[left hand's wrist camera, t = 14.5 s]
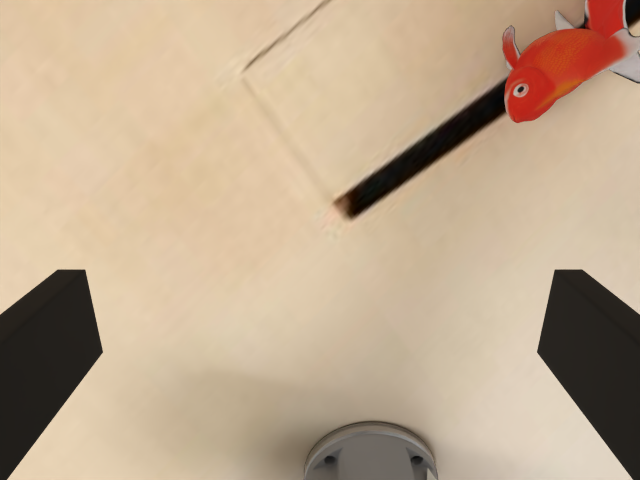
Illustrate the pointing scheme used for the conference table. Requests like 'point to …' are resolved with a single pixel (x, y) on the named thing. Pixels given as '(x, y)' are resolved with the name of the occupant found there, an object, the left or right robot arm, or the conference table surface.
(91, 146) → the conference table surface
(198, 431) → the conference table surface
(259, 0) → the conference table surface
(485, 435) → the conference table surface
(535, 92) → the fish
